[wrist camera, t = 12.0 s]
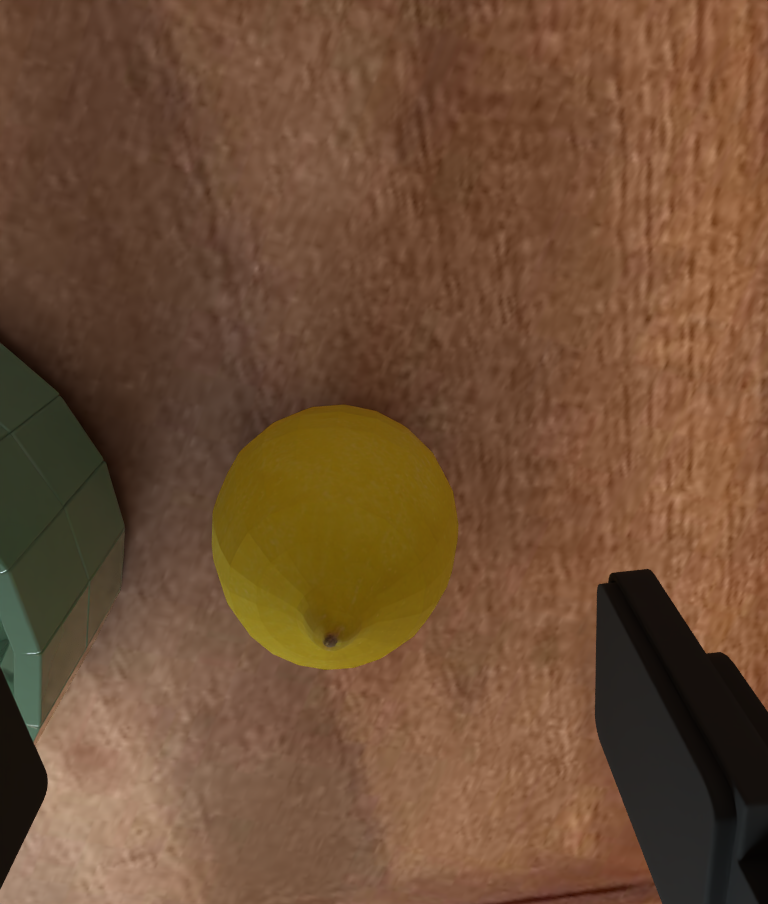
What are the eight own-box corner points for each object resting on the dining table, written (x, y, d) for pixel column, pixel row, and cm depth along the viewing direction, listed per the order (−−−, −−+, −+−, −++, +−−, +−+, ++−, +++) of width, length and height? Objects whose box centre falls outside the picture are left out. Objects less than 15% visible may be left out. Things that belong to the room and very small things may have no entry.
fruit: (296, 328, 18) (244, 447, 11) (479, 421, 19) (542, 588, 12) (213, 496, 20) (120, 696, 13) (384, 573, 21) (389, 797, 14)
